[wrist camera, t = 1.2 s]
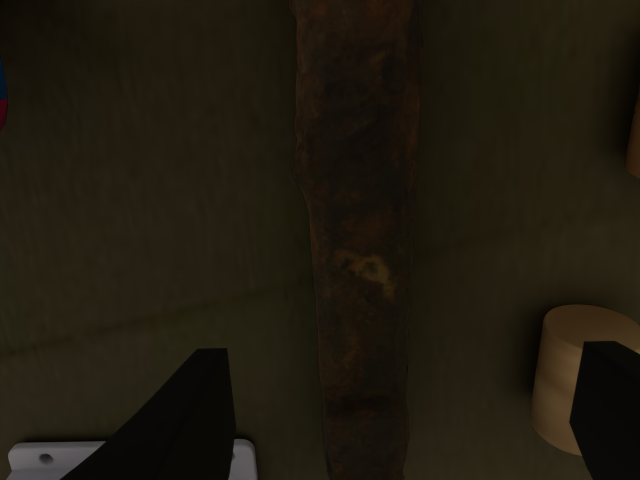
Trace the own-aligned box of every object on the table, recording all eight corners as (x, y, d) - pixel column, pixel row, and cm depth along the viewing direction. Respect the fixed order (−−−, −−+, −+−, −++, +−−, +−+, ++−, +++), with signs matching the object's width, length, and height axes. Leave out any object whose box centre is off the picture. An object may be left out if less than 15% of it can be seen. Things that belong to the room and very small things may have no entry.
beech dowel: (546, 387, 21) (516, 431, 19) (561, 294, 20) (529, 331, 18) (633, 420, 19) (609, 472, 17) (657, 321, 18) (634, 366, 16)
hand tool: (276, -88, 15) (254, -125, 10) (429, -89, 15) (470, -126, 10) (289, 460, 22) (280, 570, 18) (390, 461, 22) (405, 571, 18)
